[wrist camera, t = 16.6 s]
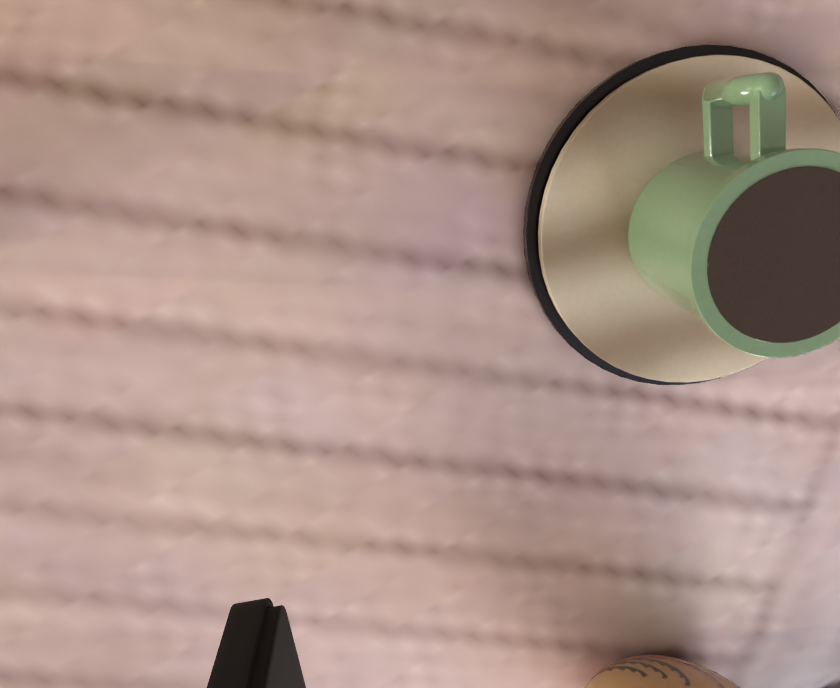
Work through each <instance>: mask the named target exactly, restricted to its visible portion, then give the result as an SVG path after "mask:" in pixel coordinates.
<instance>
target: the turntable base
mask: <svg viewBox="0 0 840 688" xmlns="http://www.w3.org/2000/svg"><path fill="white" fill-rule="evenodd" d="M709 55H733V56H742V57H747V58H752V59H757V60H761V61H764V62H767V63H770V64H772V65H775V66H778V67H780V68H782V69H784V70H786V71H788V72H789V73H791V74H793V75H795V76H797V77H799V78H800V79H801V80H802V81H804V82H805V83H806V84H808V85H809V86H810V87H811V88H813V89H814V90H815V91H816V92H817V93H818V94H819V95H820V96H821V97H822V98H823V99H824V100H825V101H826V99H825V98H824V97H823V96H822V95H821V94H820V92H819V91H818V90H817V89H816V88H815V87H814V86H813V85H812V84H811V83H810V82H809V81H808V80H806V79H805V78H804V77H803V76H801V75H800V74H799V73H797V72H796V71H795V70H794V69H792V68H790V67H789V66H787V65H785V64H783V63H781V62H780V61H778V60H776V59H774V58H772V57H769V56H766V55H764V54H761V53H758V52H756V51H753V50H748V49H743V48H738V47H733V46H721V45H701V46H690V47H682V48H678V49H674V50H670V51H666V52H661V53H658V54H655V55H652V56H650V57H647V58H645V59H642V60H639V61H637V62H634V63H633V64H631V65H629V66H627V67H625V68H623V69H622V70H620V71H618V72H616V73H614V74H613V75H611V76H610V77H609V78H607V79H606V80H604V81H603V82H602V83H600V84H599V85H598V86H596V87H595V88H594V89H592V90H591V91H590V92H589V93H588V94H587V95H586V96H585V97H584V98H583V99H582V100H581V101H580V102H579V103H578V104H576V106H575V107H574V108H573V109H572V110H571V112H570V113H569V114H568V115H567V116H566V118H565V119H564V120H563V121H562V122H561V124H560V125H559V127H558V128H557V130H556V131H555V133H554V134H553V136H552V138H551V139H550V141H549V142H548V144H547V146H546V148H545V150H544V152H543V154H542V156H541V158H540V160H539V162H538V164H537V167H536V170H535V173H534V176H533V179H532V182H531V185H530V188H529V193H528V198H527V203H526V207H525V217H524V230H523V234H524V253H525V259H526V264H527V270H528V275H529V278H530V281H531V284H532V287H533V290H534V293H535V295H536V297H537V299H538V301H539V303H540V305H541V307H542V310H543V312H544V313H545V315H546V316H547V318H548V319H549V321H550V322H551V323H552V325H553V326H554V328H555V329H556V330H557V331H558V332H559V334H560V335H561V336H562V337H563V338H564V339H565V340H566V341H567V342H568V343H569V345H570V346H571V347H573V348H574V349H575V350H576V351H577V352H579V353H580V354H581V355H582V356H583V357H585V358H586V359H588V360H589V361H591V362H592V363H594V364H596V365H597V366H599V367H601V368H602V369H604V370H607V371H609V372H611V373H614V374H616V375H618V376H621V377H624V378H628V379H631V380H635V381H638V382H644V383H651V384H658V385H683V384H692V383H700V382H705V381H709V380H705V381H696V382H665V381H658V380H651V379H647V378H643V377H640V376H636V375H633V374H630V373H628V372H625V371H623V370H621V369H619V368H616V367H614V366H613V365H611V364H609V363H608V362H606V361H604V360H603V359H601V358H600V357H598V356H597V355H596V354H594V353H593V352H592V351H591V350H590V349H588V348H587V347H586V346H585V345H584V344H583V343H582V342H581V341H580V340H579V339H578V338H577V337H576V336H575V335H574V334H573V332H572V331H571V330H570V329H569V328H568V327H567V325H566V324H565V322H564V321H563V319H562V318H561V316H560V315H559V313H558V312H557V310H556V308H555V306H554V304H553V302H552V300H551V298H550V296H549V293H548V290H547V287H546V284H545V281H544V278H543V275H542V269H541V264H540V258H539V246H538V227H539V216H540V209H541V204H542V200H543V195H544V191H545V188H546V185H547V182H548V179H549V176H550V173H551V170H552V168H553V166H554V164H555V162H556V160H557V158H558V156H559V154H560V152H561V150H562V148H563V147H564V145H565V144H566V142H567V141H568V139H569V137H570V136H571V134H572V133H573V131H574V130H575V129H576V127H577V126H578V125H579V124H580V123H581V122H582V120H583V119H584V118H585V117H586V116H587V114H588V113H589V112H590V111H591V110H592V109H593V108H594V107H595V106H597V105H598V104H599V103H600V102H601V101H602V100H603V99H604V98H605V97H606V96H608V95H609V94H610V93H612V92H613V91H614V90H616V89H617V88H619V87H620V86H621V85H623V84H624V83H626V82H627V81H629V80H631V79H633V78H635V77H637V76H639V75H640V74H642V73H644V72H646V71H649V70H651V69H654V68H656V67H659V66H661V65H664V64H667V63H671V62H675V61H679V60H683V59H687V58H692V57H698V56H709ZM826 103H827V104H828V102H827V101H826ZM828 105H829V104H828ZM829 106H830V105H829ZM831 109H832V108H831ZM832 110H833V109H832ZM833 112H834V111H833ZM834 113H835V112H834ZM835 115H836V114H835ZM836 116H837V115H836ZM719 378H721V377H719ZM715 379H717V378H715ZM711 380H713V379H711Z"/></svg>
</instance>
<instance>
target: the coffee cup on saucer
mask: <svg viewBox="0 0 840 688" xmlns="http://www.w3.org/2000/svg"><path fill="white" fill-rule="evenodd" d="M538 246H539V258H540V264H541V269H542V275H543V278H544V281H545V284H546V287H547V290H548V293H549V296H550V298H551V300H552V302H553V304H554V306H555V308H556V310H557V312H558V313H559V315H560V316H561V318H562V319H563V321H564V322H565V324H566V325H567V327H568V328H569V329H570V330H571V331H572V332H573V334H574V335H575V336H576V337H577V338H578V339H579V340H580V341H581V342H582V343H583V344H584V345H585V346H586V347H587V348H588V349H590V350H591V351H592V352H593V353H594V354H596V355H597V356H598V357H600V358H601V359H603V360H604V361H606V362H608V363H609V364H611V365H613V366H614V367H616V368H619V369H621V370H623V371H625V372H628V373H630V374H633V375H636V376H640V377H643V378H647V379H651V380H658V381H665V382H696V381H705V380H711V379H715V378H719V377H724V376H728V375H730V374H733V373H736V372H739V371H741V370H744V369H747V368H749V367H751V366H753V365H755V364H757V363H759V362H761V361H763V360H765V359H766V358H785V357H794V356H798V355H802V354H807V353H810V352H812V351H815V350H818V349H820V348H822V347H824V346H826V345H828V344H830V343H832V342H834V341H835V340H837V339H839V338H840V120H839V119H838V117H837V116H836V115H835V113H834V112H833V110H832V109H831V107H830V106H829V105H828V104H827V103H826V101H825V100H824V99H823V98H822V97H821V96H820V95H819V94H818V93H817V92H816V91H815V90H814V89H813V88H811V87H810V86H809V85H808V84H806V83H805V82H804V81H802V80H801V79H800V78H799V77H797V76H795V75H793V74H791V73H789V72H788V71H786V70H784V69H782V68H780V67H778V66H775V65H772V64H770V63H767V62H764V61H761V60H757V59H752V58H747V57H742V56H733V55H709V56H698V57H692V58H687V59H683V60H679V61H675V62H671V63H667V64H664V65H661V66H659V67H656V68H654V69H651V70H649V71H646V72H644V73H642V74H640V75H639V76H637V77H635V78H633V79H631V80H629V81H627V82H626V83H624V84H623V85H621V86H620V87H619V88H617V89H616V90H614V91H613V92H612V93H610V94H609V95H608V96H606V97H605V98H604V99H603V100H602V101H601V102H600V103H599V104H598V105H597V106H595V107H594V108H593V109H592V110H591V111H590V112H589V113H588V114H587V116H586V117H585V118H584V119H583V120H582V122H581V123H580V124H579V125H578V126H577V127H576V129H575V130H574V131H573V133H572V134H571V136H570V137H569V139H568V141H567V142H566V144H565V145H564V147H563V148H562V150H561V152H560V154H559V156H558V158H557V160H556V162H555V164H554V166H553V168H552V170H551V173H550V176H549V179H548V182H547V185H546V188H545V191H544V195H543V200H542V204H541V209H540V216H539V227H538Z"/></svg>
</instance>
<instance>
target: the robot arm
mask: <svg viewBox="0 0 840 688" xmlns="http://www.w3.org/2000/svg"><path fill="white" fill-rule="evenodd" d="M207 688H306V686H305V682H304V678H303V675H302V671H301V667H300V663H299V659H298V655H297V651H296V647H295V643H294V640H293V636H292V632H291V628H290V624H289V620H288V616H287V613H286V609H285V607H284V606H283V605H281V606H275V607H274V606H273V603H272V601H271V600H270V599H269V598H265V599H260V600H254V601H248V602H243V603H237V604H234V605H232V607H231V609H230V612H229V616H228V619H227V622H226V626H225V629H224V632H223V636H222V639H221V642H220V646H219V649H218V652H217V656H216V659H215V662H214V666H213V669H212V672H211V676H210V679H209V682H208V686H207Z"/></svg>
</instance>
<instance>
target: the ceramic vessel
mask: <svg viewBox="0 0 840 688" xmlns="http://www.w3.org/2000/svg"><path fill="white" fill-rule="evenodd" d="M585 688H740V687H738V686H737V685H736V684H734V683H733V682H731V681H729V680H728V679H726V678H725V677H723V676H721V675H719V674H718V673H716V672H714V671H712V670H710V669H708V668H705V667H703V666H701V665H698V664H696V663H693V662H690V661H687V660H683V659H680V658H675V657H670V656H663V655H638V656H632V657H628V658H624V659H621V660H619V661H616V662H614V663H612V664H610V665H609V666H607V667H606V668H604V669H603V670H601V671H600V672H599V673H598V674H597V675H596V676H594V677H593V679H592V680H591V681H590V682H589V683H588V685H587V686H586V687H585Z"/></svg>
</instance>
